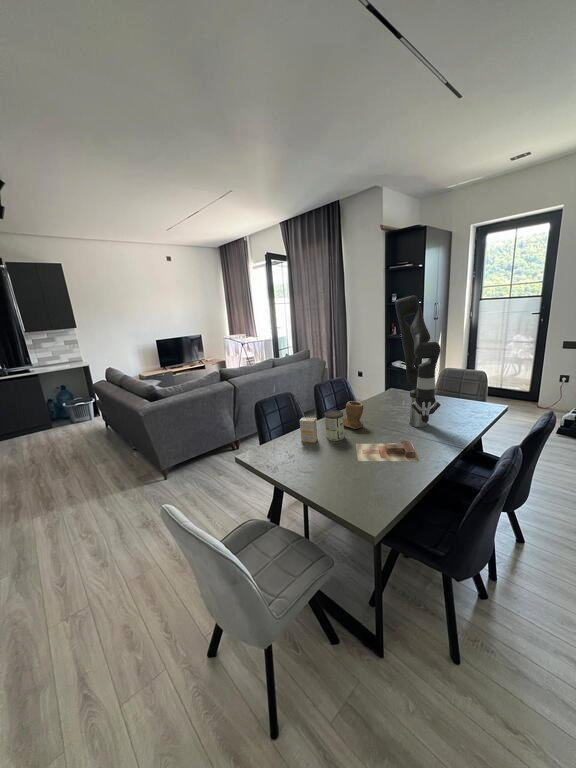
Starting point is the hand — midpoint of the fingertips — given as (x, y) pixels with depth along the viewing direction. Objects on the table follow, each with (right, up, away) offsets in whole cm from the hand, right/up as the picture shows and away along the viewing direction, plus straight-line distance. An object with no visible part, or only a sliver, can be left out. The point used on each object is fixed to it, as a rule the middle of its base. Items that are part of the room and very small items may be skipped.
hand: (424, 422), depth 143 cm
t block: (-10, -15, +6) cm, 19 cm away
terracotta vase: (-25, -8, +44) cm, 51 cm away
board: (-16, -16, +7) cm, 24 cm away
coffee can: (-37, -12, +31) cm, 50 cm away
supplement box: (-52, -14, +28) cm, 61 cm away
